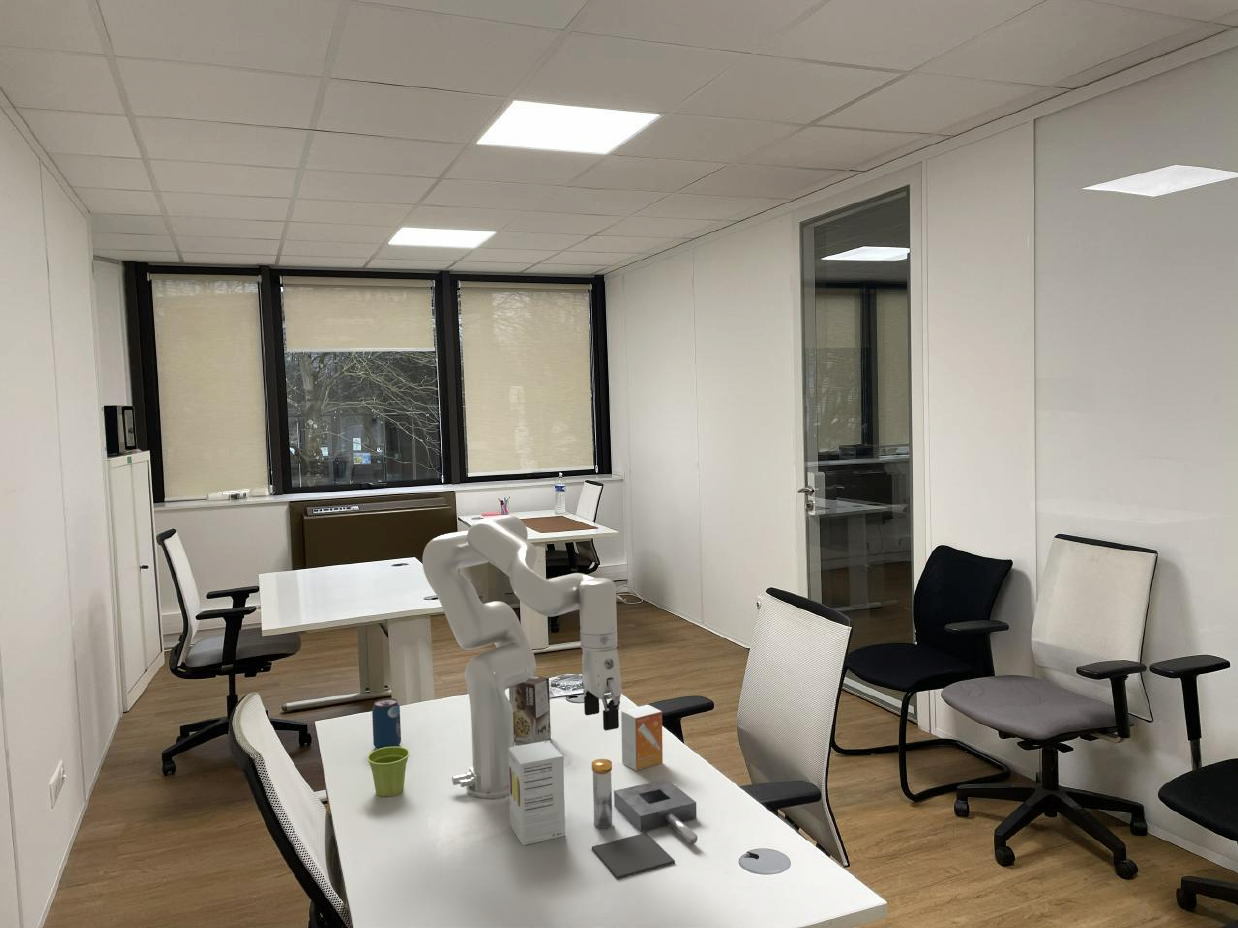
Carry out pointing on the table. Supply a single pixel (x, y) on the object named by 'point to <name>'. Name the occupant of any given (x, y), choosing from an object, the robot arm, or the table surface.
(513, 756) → the supplement box
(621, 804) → the block
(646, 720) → the small box
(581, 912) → the table surface
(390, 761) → the plant pot
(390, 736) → the soda can
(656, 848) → the pad
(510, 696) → the coffee box
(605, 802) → the gold capped metal cylinder
